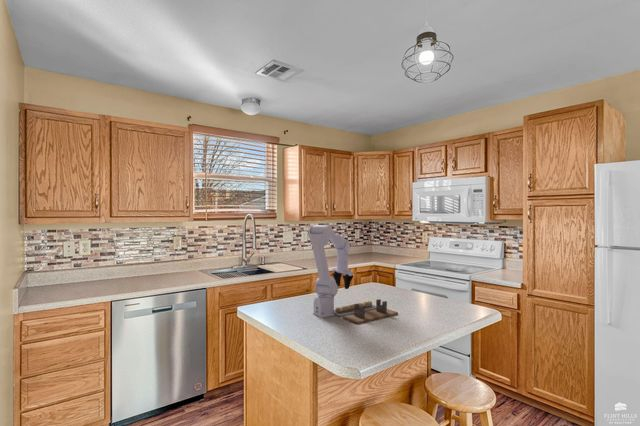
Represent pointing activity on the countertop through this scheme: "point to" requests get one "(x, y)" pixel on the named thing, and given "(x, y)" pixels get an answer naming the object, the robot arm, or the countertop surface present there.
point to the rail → (352, 307)
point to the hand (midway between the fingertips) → (342, 287)
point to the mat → (353, 311)
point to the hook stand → (369, 313)
